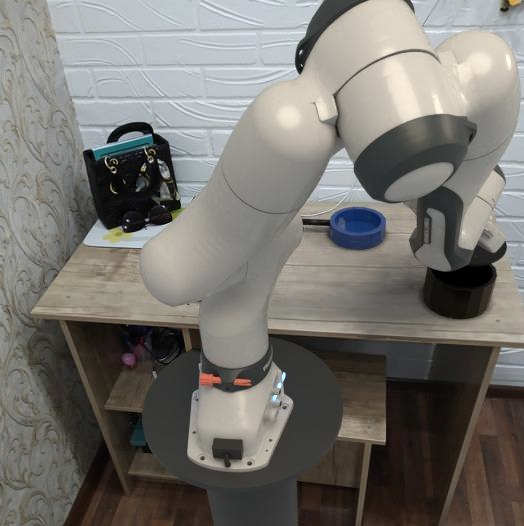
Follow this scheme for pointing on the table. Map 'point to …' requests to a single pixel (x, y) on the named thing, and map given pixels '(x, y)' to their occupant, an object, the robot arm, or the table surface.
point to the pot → (459, 291)
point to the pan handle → (316, 222)
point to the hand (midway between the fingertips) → (470, 233)
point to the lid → (486, 255)
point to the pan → (357, 227)
